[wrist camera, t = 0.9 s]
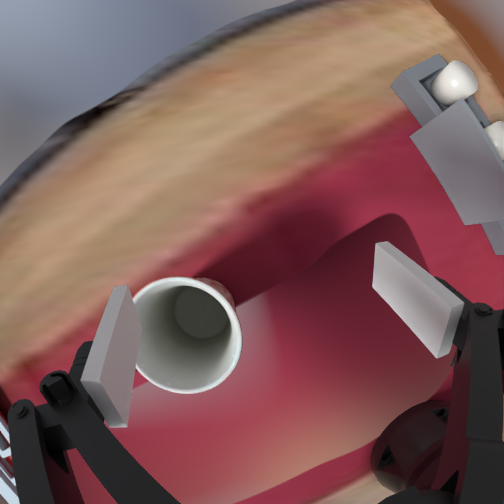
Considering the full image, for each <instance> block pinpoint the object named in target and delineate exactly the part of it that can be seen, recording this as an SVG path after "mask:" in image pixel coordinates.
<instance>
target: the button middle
mask: <svg viewBox="0 0 504 504" xmlns="http://www.w3.org/2000/svg"><path fill="white" fill-rule="evenodd" d="M484 130H485V132H486V133H487V135H488V137H489V138H490V140H491V142H492V143H493V145H494V147H495V148H496V150H497V152H498V154H499V155H500V157H501V159H502V160H504V122H503V121H497V122H495V123H493V124H492V125H490V126H488V127H486V128H484Z"/></svg>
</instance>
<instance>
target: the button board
mask: <svg viewBox="0 0 504 504" xmlns="http://www.w3.org/2000/svg"><path fill="white" fill-rule="evenodd" d="M447 65H448V64H447V63H446V61H445V60H444V59H443V58H442V57H441V55H440V54H437V55H435V56H433V57H431V58H429V59H427V60H425V61H423V62H421V63H419V64H417V65H415V66H413V67H411V68H409V69H408V70H406V71H404V72H402V73H401V74H400V75H399V76H398V78H397V79H396V80H395V81H394V82H393V84H392V85H391V86H390V87H391V88H392V89H393V90H394V91H395V93H396V94H397V95H398V96H399V98H400V99H401V100H402V101H403V103H404V104H405V105H406V106H407V108H408V109H409V110H410V112H411V113H412V114H413V116H414V117H415V118H416V120H417V121H418V122H419V124H420V125H421V126H422V127H423V126H424V125H426V124H427V123H428V122H430V121H431V120H433V119H434V118H435V117H437V116H438V115H439V114H441V113H442V112H444V111H445V110H446V109H448V108H449V107H446V106H444V105H442V104H441V103H440V102H439V101H438V100H437V99H436V98H435V97H434V95H433V93H432V91H431V81H432V80H433V79H434V78H435V77H436V76H437V75H438V74H439V73H440V72H441V71H442V70H443V69H444V68H445V67H446V66H447ZM465 102H466V103H467V105H468V106H469V108H470V109H471V110H472V112H473V113H474V115H475V116H476V118H477V119H478V121H479V122H480V124H481V126H482V127H483V129H484V128H486V127H488V126H490V125H491V123H490V122H489V120H488V119H487V117H486V116H485V114H484V112H483V111H482V109H481V108H480V107H479V105H478V104H477V102H476V101H475V99H474V98H473V96H472V95H470V96H469V97H468V98H466V99H465ZM502 161H503V163H504V160H502ZM481 225H482V227H483V229H484V231H485V233H486V235H487V237H488V239H489V241H490V243H491V246H492V248H493V250H494V252H495V254H496V255H504V220H500V221H493V222H485V223H481Z"/></svg>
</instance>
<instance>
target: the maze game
mask: <svg viewBox="0 0 504 504" xmlns="http://www.w3.org/2000/svg"><path fill="white" fill-rule="evenodd" d="M0 494H1V495H2V496H3V497H4V498H5V500H7V502H8V503H9V504H20V503H19V498H18V493H17V488H16V483H15V477H14V471H13V464H12V457H11V449H10V439H9V428H8V421H7V420H6V419H5V417H4V416H3V414H2V413H1V411H0Z"/></svg>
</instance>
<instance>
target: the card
mask: <svg viewBox="0 0 504 504" xmlns="http://www.w3.org/2000/svg"><path fill="white" fill-rule="evenodd" d="M409 137H410V138H411V140H412V141H413V142H414V144H415V145H416V147H417V148H418V150H419V151H420V153H421V154H422V155H423V157H424V158H425V160H426V161H427V163H428V164H429V166H430V167H431V169H432V171H433V172H434V174H435V175H436V177H437V178H438V180H439V182H440V183H441V185H442V187H443V188H444V190H445V191H446V193H447V195H448V197H449V198H450V200H451V202H452V203H453V205H454V207H455V209H456V210H457V212H458V214H459V216H460V218H461V219H462V221H463V223H464V225H471V224H478V223H485V222H493V221H500V220H504V163H503V161H502V159H501V157H500V155H499V154H498V152H497V150H496V148H495V147H494V145H493V143H492V142H491V140H490V138H489V137H488V135H487V133H486V132H485V130H484V129H483V127H482V126H481V124H480V122H479V121H478V119H477V118H476V116H475V115H474V113H473V112H472V110H471V109H470V108H469V106H468V105H467V103H466V102H465V100H464V99H463V98H461V99H460V100H459V101H457V102H456V103H454V104H453V105H452V106H450V107H449V108H448V109H446V110H445V111H444V112H442V113H441V114H439V115H438V116H437V117H435V118H434V119H433V120H431V121H430V122H428V123H427V124H426V125H424V126H423V127H422V128H420V129H419V130H417V131H416V132H415V133H413V134H412V135H411V136H409Z"/></svg>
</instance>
